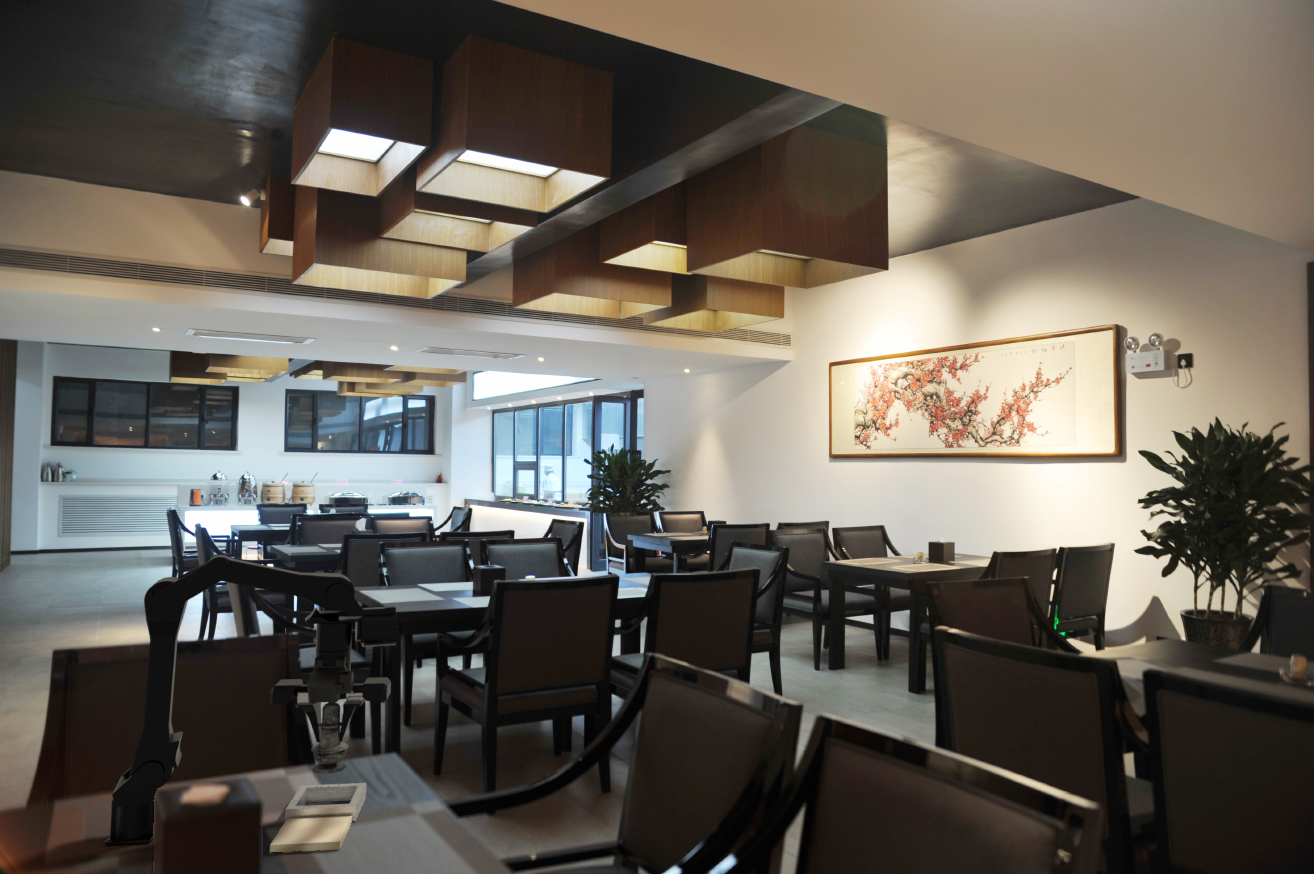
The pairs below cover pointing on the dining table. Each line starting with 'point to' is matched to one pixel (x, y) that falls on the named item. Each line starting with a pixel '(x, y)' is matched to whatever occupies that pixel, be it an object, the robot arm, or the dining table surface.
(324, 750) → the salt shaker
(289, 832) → the wooden square board
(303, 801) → the grey square frame
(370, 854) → the dining table surface
